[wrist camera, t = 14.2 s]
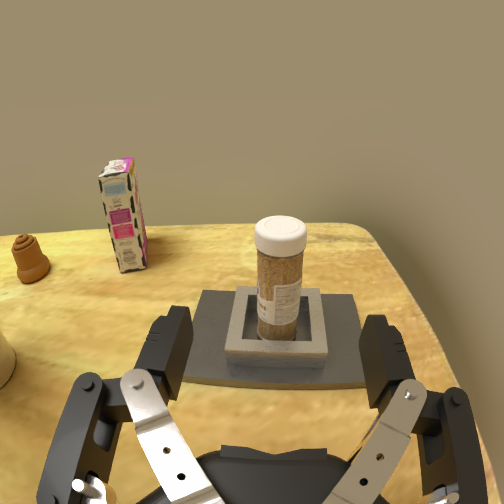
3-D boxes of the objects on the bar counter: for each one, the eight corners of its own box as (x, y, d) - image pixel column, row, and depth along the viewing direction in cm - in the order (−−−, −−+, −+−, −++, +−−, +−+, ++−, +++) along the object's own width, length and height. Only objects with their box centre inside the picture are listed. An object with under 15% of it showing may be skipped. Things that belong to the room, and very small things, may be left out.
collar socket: (177, 380, 28) (170, 359, 26) (204, 296, 40) (200, 274, 38) (369, 387, 26) (380, 366, 25) (350, 301, 38) (355, 279, 36)
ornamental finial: (15, 277, 43) (42, 259, 49) (27, 289, 40) (57, 268, 46) (0, 242, 39) (30, 224, 45) (11, 251, 36) (43, 231, 42)
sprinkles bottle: (252, 323, 34) (248, 217, 27) (289, 315, 35) (295, 211, 28) (263, 352, 30) (263, 241, 23) (303, 342, 31) (316, 233, 24)
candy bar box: (149, 269, 46) (129, 170, 37) (120, 274, 45) (95, 177, 36) (148, 237, 55) (134, 155, 46) (124, 242, 54) (107, 160, 45)
